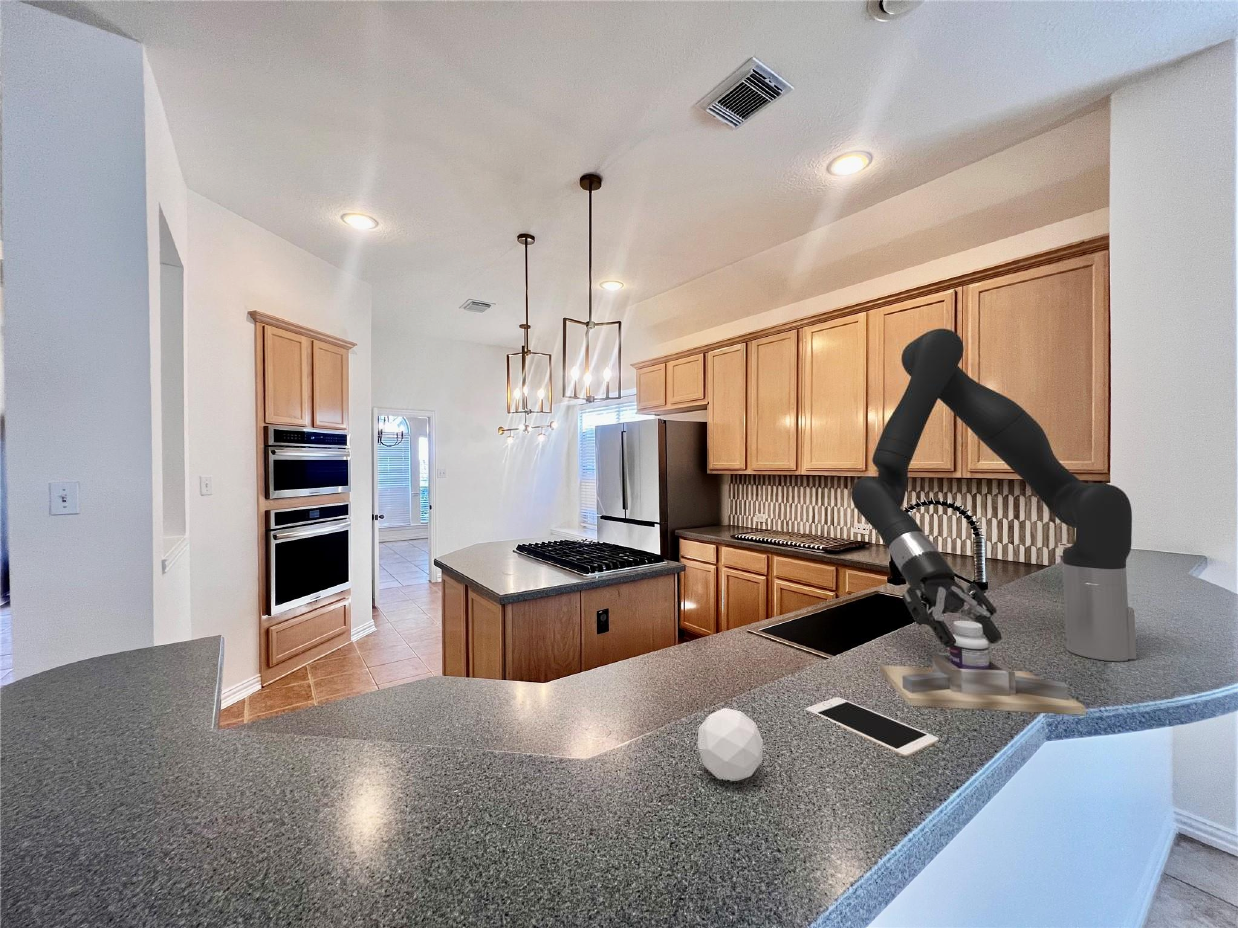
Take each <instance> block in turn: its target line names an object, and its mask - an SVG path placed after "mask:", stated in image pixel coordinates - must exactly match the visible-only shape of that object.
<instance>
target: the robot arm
mask: <svg viewBox="0 0 1238 928" xmlns="http://www.w3.org/2000/svg"><path fill="white" fill-rule="evenodd" d="M963 356H964V342H963V339H962V338H961V337H960V336H959V334H958V333H956V332H955V331H954V330H951V329H948V328H936V329H935V328H934V329H932V330H930V331H929V330H928V331H927V332H925V333H923V334H922V335H920V336H918V337H917V338H914V340H912V341H910V342H909V343H908V344H907V345H906V346H905V347H904V349H903V350H902V353H901V364H902V367H903V369H904V372H906V373H907V375H908V376H910V379H909V382H908V383H907V387H906V389H905V391H904V393H903V395H902V396H901V399H900V401H899V402H898V404H897V406H895V409H894V410H893V412H892V414H891V415H890V417H889V419H888V420H887V422H886V424H885V426H884V428H883V430H882V432H881V434H880V437H879V439H878V442H877V444H876V447H875V449H874V453H873V455H872V457H871V458H872V459H871V460H872V464H873V465H874V467H876V469H877V471H878V472H877V473H878V474H877V478H876V477H873V476H863V477H860V478H859V479H857V480H856V481H855V482H854V483H853V485H852V487H851V491H850V497H851V501H852V503H853V505H854V506H855V508H856V510H857V511H858V513H860V515H862V517H863V518H864V519H865V521H867V523H869V525H870V526H872V528H873V529H875V531H876V532H877V533H878V535H879V536H880V539H881V540H882V542H883V543H884V545H885V546H886V548H887V550H888V551H889V553H890V555H891V558H892V560H893V562H894V564H895V565H896V567H897V568H898V570H899V572H900V573H901V574H902V576H903V578H904V579H905V581H906V582H907V584H908V586H909V587H908V588H907V589H906V590H905V592H904V593H903V594H902V595H901V597H902V600H903V601H904V603H905V605H906V607H907V609H908V611H909V613H910V615H911V617H912V618H913V620H914V622H915V624H916V625H918V626H922V625H925V626H927V627H928V628H930V629H931V630H932V631H933V633H934V634H935V637H936V638H937V639H938V641H939V642H940V644H942V645H943V647H944V648H947V649H948V648H949V649H950V647H952V646H953V645H954V644H955V643H956V639H955V638H954V636H953V633H952V632H951V631H952V630H950V629H949V627H948V625H947V624H946V622H945V621H944V620H942V615H944V614H948V613H951V614H956V613H958V614H959V615H961V616H962V617H964V618H966V617H967V618H969V619H971V620H972V621H973V622H976V623H979V624H981V625H982V629H983V634H982V635H984V638H985V639H986V640H987V642H988V643H989V644H991V645H994V644H998V643H999V642H1000V641H1001V640H1002V638H1003V637H1002V634H1001V631H1000V630H999V628H998V627H997V626H996V624H995V623H994V622H993V620H992V619H991V617H993V616H994V615H996V613H997V612H998V611H997V608H996V607H995V606H994V605H993V603H992V602H991V601H990V599H989V598H988V597H987V596H986V594H985V593H984V592H983V590H981V588H980V587H979V586H978V585H977V584H976V583H974V582H972V583H969V585H968V586H962V585H960V584H959V582H957V581H956V577H955V576H956V575H955V572H954V570H953V569H952V567H951V566H950V565H949V563H948V562H947V560H946V558H945V557H944V556H943V555H942V553H941V552H940V550H939V549H938V547H937V546H936V545H935V544H934V542H933V541H932V540H931V539H930V538H929V537H928V536H927V535H926V533H925V532H924V531H923V530H922V528H921V527H920V525H919V524H918V522H917V520H915V518H914V517H913V516H912V515H911V514H909V513H908V512H907V511H905V510H904V509H902V505H903V503H904V501H905V497H906V493H907V485H908V475H909V474H908V473H909V467H910V465H911V462H912V460H913V458H914V455H915V452H916V450H917V447H918V444H919V442H920V439H921V438H922V437H921V436H922V434H923V432H924V429H925V426H926V425H927V423H928V420H929V419H930V416H931V414H932V411H933V409H934V408H935V405H936V404H937V401H939V400H940V401H941V402H942V403H943V404H944V405H946V407H947V408H948V409H950V411H951V412H952V413H953V414H954V415H955V416H956V417H957V418H958V419H959V420H960V421H961V422H962V423H964V425H965V426H966V427H968V429H969V430H970V431H972V433H973V434H974V435H975V436H976V437H977V438H978V439H980V441H981V442H982V443H983V444H984V445H985V446H986V447H987V448H989V450H990V451H992V452H993V453H994V454H995V455H996V456H998V458H999V459H1001V460H1002V461H1003V462H1004V464H1006V465H1007V466H1008V467H1009V468H1010V469H1011V470H1012V471H1013V472H1014V473H1015V474H1016V475H1018V477H1020V478H1021V480H1023V481H1024V482H1025V483H1026V484H1027V485H1028V486H1029V487H1030V488H1031V489H1032V490H1033V492H1034V493H1035V494H1036V495H1037V497H1038V498H1039V499H1040V500H1041V501H1042V502H1043V504H1044V505H1045V507H1047V509H1048V510H1049V511H1050V512H1051V514H1053V516H1054V517H1055V518H1056V519H1057V520H1059V522H1061V523H1062V524H1063V525H1064V524H1065V525H1066V526H1069V527H1071V528H1073V529H1074V528H1075V539H1074V542H1073V544H1071V545H1069V546H1067V547H1066V548H1064V549H1063V551H1062V577H1063V579H1062V580H1063V598H1064V600H1063V601H1064V620H1065V621H1064V622H1065V623H1064V624H1065V626H1064V627H1065V647H1066V650H1067V651H1068V652H1070V653H1072V654H1075V655H1077V656H1081V657H1084V658H1085V657H1086V658H1089V659H1094V660H1098V661H1099V660H1101V661H1108V662H1109V661H1110V662H1126V661H1129V660H1137V643H1136V641H1137V640H1136V624H1135V623H1136V620H1135V609H1134V608H1133V607H1131V606H1129V601H1128V597H1129V596H1128V581H1127V578H1128V577H1127V559H1128V558H1129V557H1128V556H1129V555H1130V553H1131V550H1132V543H1133V541H1132V531H1133V529H1132V528H1133V514H1132V513H1133V510H1132V505H1131V501H1130V499H1129V497H1128V496H1127V494H1126V493H1125V492H1124V491H1123V490H1122V489H1121V488H1119V487H1118V486H1115V485H1113V484H1108V483H1099V482H1097V483H1096V482H1094V483H1092V482H1084V481H1082V480H1081V479H1079V478H1078V477H1077V476H1076V475H1074V474H1073V473H1072V472H1070V470H1069V469H1067V468H1066V467H1065V466H1064V465H1063V464H1062V463H1061V462H1060V461H1059V460H1058V458H1057V457H1056V455H1055V454H1054V452H1053V450H1052V446H1051V444H1050V442H1049V441H1050V440H1049V439H1048V436H1047V435H1046V433H1045V431H1044V429H1043V428H1042V426H1041V425H1040V424H1039V423H1038V422H1037V421H1036V420H1035V418H1033V417H1032V416H1031V415H1030V413H1028V412H1027V411H1026V410H1025V409H1024V408H1023V407H1021V406H1020V405H1019V404H1018V403H1017V402H1015V401H1014V400H1012V399H1010V397H1007V396H1006V395H1003V394H1001V393H1000V392H997V391H996V390H993V389H991V388H990V387H987V386H986V385H983V384H981V383H979V381H978V382H977V381H976V380H975V379H973V378H972V377H970V376H969V375H968V374H967V373H966V372H965V371H964V370H963V369H962V368H961V367H960V366H959V364H960V363H961V360H962V359H963ZM965 604H967V605H968V606H966V607H965ZM925 605H926V606H925ZM985 608H986V609H985ZM1128 659H1129V660H1128Z"/></svg>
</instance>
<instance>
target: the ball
mask: <svg viewBox="0 0 1238 928" xmlns="http://www.w3.org/2000/svg"><path fill="white" fill-rule="evenodd" d="M697 732H698V734H697V735H698V736H697V748H698V751H699V752H698V753H699V755H700V758H701V761H702V765H703V766H704V767H705V768H706V769H707V770H708V771H709V772H710V773H711V774H712V775H714V777H715V778H716V779H718V780H722V779H723V780H722V781H727V780H730V781H729V782H732V781H737V782H739V780H740V781H742V780H744V779H747V778H749V777H752V776H753V774H754V773H755V771H756V770H757V768H758V767H759V766H760V765H761V763H762V761H763V750H764V741H763V738H762V735H761V734H760V731H759V728H758V726H757V723H756V722H754V721H753V719H752V718H750V717H749V716H748V715H746V714H745V713H744V712H742V711H740V710H735V709H731V708H726V707H723V708H721V709H719V710H717V711H715V712H713V713H711V714H709V715H708V716H707V717H706V718H705V719H704V721H703V722H702V723H701V725H700V726H699V727H698V731H697Z"/></svg>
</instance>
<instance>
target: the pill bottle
mask: <svg viewBox="0 0 1238 928" xmlns="http://www.w3.org/2000/svg"><path fill="white" fill-rule="evenodd" d="M952 626H953V632H954V634H953V633H952V635H953V636H954V638H955V639H956V643H955V644H954V645H953V646H952V647H949V653H950V662H951V663H952V664H953V665H955V666H956V667H957V668H959V669H978V670H990V667H989V656H990V650H989V649H990V648H989V641H988V640H987V638H985V637H983V636H982V635H984V634H983V629H982V625H981V624H979V623H977V622H975V621H971V620H970V621H968V620H955V621H953V625H952Z"/></svg>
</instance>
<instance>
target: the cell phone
mask: <svg viewBox="0 0 1238 928" xmlns="http://www.w3.org/2000/svg"><path fill="white" fill-rule="evenodd" d="M806 710H807V711H806ZM805 711H806V712H808V711H811V712H812V713H811V712H810V713H811V714H813V713H815V714H817V715H819V716H821V717H824V718H825V719H824V718H823V719H824V720H826V719H828V720H830V721H831V722H830V721H829V722H830V723H832V722H833V724H834V723H836V724H837V726H839V725H840V726H839V727H841V726H842V727H841V728H844V729H846V731H847V730H848V731H850V732H851V733H854V734H856V735H858V736H861V737H863V738H864V739H866V740H869V741H870V742H874V743H875V744H878V745H880V746H883V747H884V748H886V749H889V750H891V751H893V752H895V753H897V754H899V755H901V756H904V757H908V756H910V755H913V754H915V753H917V752H919V751H921V750H923V749H925V748H927V747H929V746H931V745H934V744H936V743H937V742H939V737H938V736H935V735H933V734H931V733H928V732H926V731H923V730H921V729H919V728H916V727H913V726H911V725H909V724H906V723H903V722H901V721H899V720H896V719H893V718H891V717H888V716H886V715H883V714H881V713H879V712H876V711H874V710H871V709H869V708H866V707H864V706H861V705H859V704H857V703H853V702H852V701H850V700H846V699H844V698H841V697H839V696H838V697H833V698H830V699H828V700H825V701H821V702H819V703H816V704H814V705H810V706H809V707H806V708H805ZM815 714H814V715H815ZM817 715H816V716H817ZM819 716H818V717H819ZM821 717H820V718H821ZM828 720H827V721H828ZM836 724H835V725H836Z"/></svg>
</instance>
